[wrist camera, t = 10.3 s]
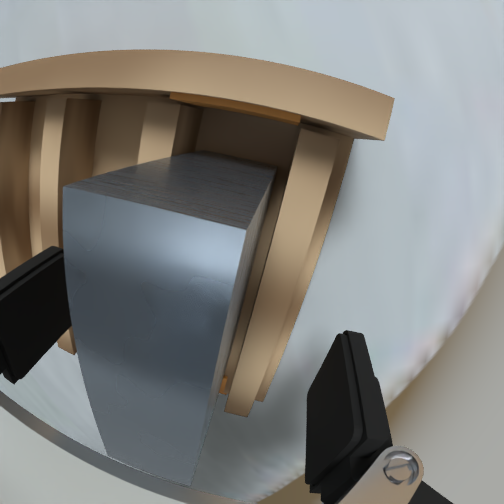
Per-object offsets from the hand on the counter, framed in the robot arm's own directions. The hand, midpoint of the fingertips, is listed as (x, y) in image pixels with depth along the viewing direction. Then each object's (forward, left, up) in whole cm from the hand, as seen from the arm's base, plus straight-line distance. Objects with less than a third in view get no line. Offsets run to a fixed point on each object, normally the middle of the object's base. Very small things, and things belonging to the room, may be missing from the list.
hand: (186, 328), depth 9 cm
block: (0, 0, -4) cm, 4 cm away
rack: (0, +5, -5) cm, 7 cm away
